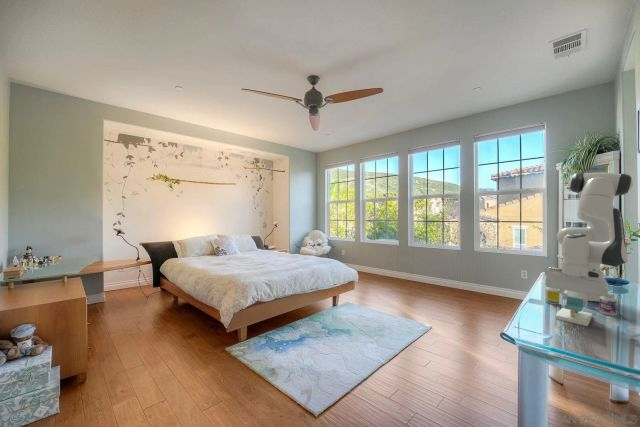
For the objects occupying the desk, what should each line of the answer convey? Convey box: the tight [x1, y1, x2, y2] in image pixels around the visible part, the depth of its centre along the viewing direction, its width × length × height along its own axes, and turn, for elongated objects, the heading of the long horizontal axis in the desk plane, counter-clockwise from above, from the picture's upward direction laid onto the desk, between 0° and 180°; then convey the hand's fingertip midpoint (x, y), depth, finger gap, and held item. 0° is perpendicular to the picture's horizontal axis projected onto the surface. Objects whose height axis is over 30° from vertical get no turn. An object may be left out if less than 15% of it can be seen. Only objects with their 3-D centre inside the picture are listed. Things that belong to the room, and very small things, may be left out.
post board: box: [555, 307, 593, 327], centre depth 118 cm, size 16×10×5 cm, turn 129°
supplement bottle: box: [545, 286, 561, 305], centre depth 138 cm, size 5×5×10 cm
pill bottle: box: [598, 292, 617, 317], centre depth 124 cm, size 5×5×10 cm
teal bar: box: [563, 295, 586, 312], centre depth 118 cm, size 14×5×4 cm, turn 130°
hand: (575, 301), depth 118 cm, fingers closed on teal bar, 5 cm apart
